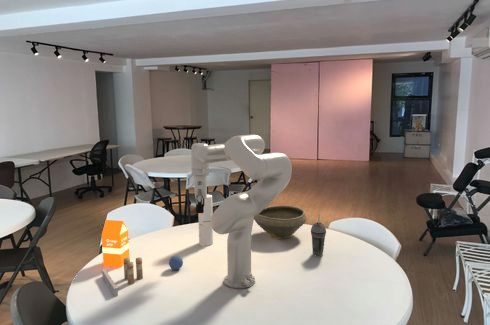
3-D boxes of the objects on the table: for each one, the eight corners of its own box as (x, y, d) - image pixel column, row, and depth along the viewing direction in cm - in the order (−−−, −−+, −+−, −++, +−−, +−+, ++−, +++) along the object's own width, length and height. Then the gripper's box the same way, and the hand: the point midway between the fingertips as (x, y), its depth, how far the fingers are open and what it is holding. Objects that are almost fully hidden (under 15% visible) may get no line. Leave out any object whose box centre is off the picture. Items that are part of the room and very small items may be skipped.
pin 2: (135, 283, 156) (134, 263, 155) (128, 285, 155) (127, 264, 153) (133, 281, 158) (132, 261, 157) (127, 282, 157) (126, 262, 155)
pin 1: (131, 278, 160) (130, 259, 159) (125, 280, 159) (124, 260, 158) (129, 276, 162) (128, 257, 161) (123, 277, 161) (122, 258, 160)
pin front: (143, 278, 160) (142, 258, 159) (137, 280, 159) (136, 260, 158) (141, 276, 162) (140, 256, 161) (135, 277, 161) (134, 258, 160)
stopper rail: (117, 295, 146) (117, 288, 146) (114, 296, 146) (114, 288, 145) (105, 275, 163) (105, 268, 163) (102, 276, 162) (102, 269, 162)
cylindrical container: (212, 246, 196) (211, 197, 192) (198, 245, 196) (197, 197, 193) (213, 241, 203) (212, 194, 199) (200, 241, 203) (199, 194, 200)
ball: (185, 270, 168) (184, 256, 167) (172, 273, 165) (171, 259, 164) (179, 265, 173) (179, 252, 172) (167, 268, 170) (166, 255, 169)
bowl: (313, 233, 215) (314, 208, 213) (292, 249, 192) (293, 222, 190) (269, 224, 230) (269, 201, 228) (244, 237, 207) (244, 212, 205)
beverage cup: (324, 251, 188) (325, 211, 185) (326, 257, 181) (327, 216, 178) (309, 251, 189) (310, 211, 186) (310, 257, 181) (311, 215, 178)
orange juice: (121, 267, 172) (118, 223, 168) (103, 265, 173) (100, 222, 170) (130, 260, 179) (127, 218, 176) (112, 258, 181) (110, 217, 178)
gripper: (208, 175, 161) (208, 215, 164) (209, 167, 178) (209, 204, 181) (190, 175, 160) (190, 215, 163) (192, 167, 177) (193, 204, 180)
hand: (200, 209), depth 172 cm, fingers open, 9 cm apart
